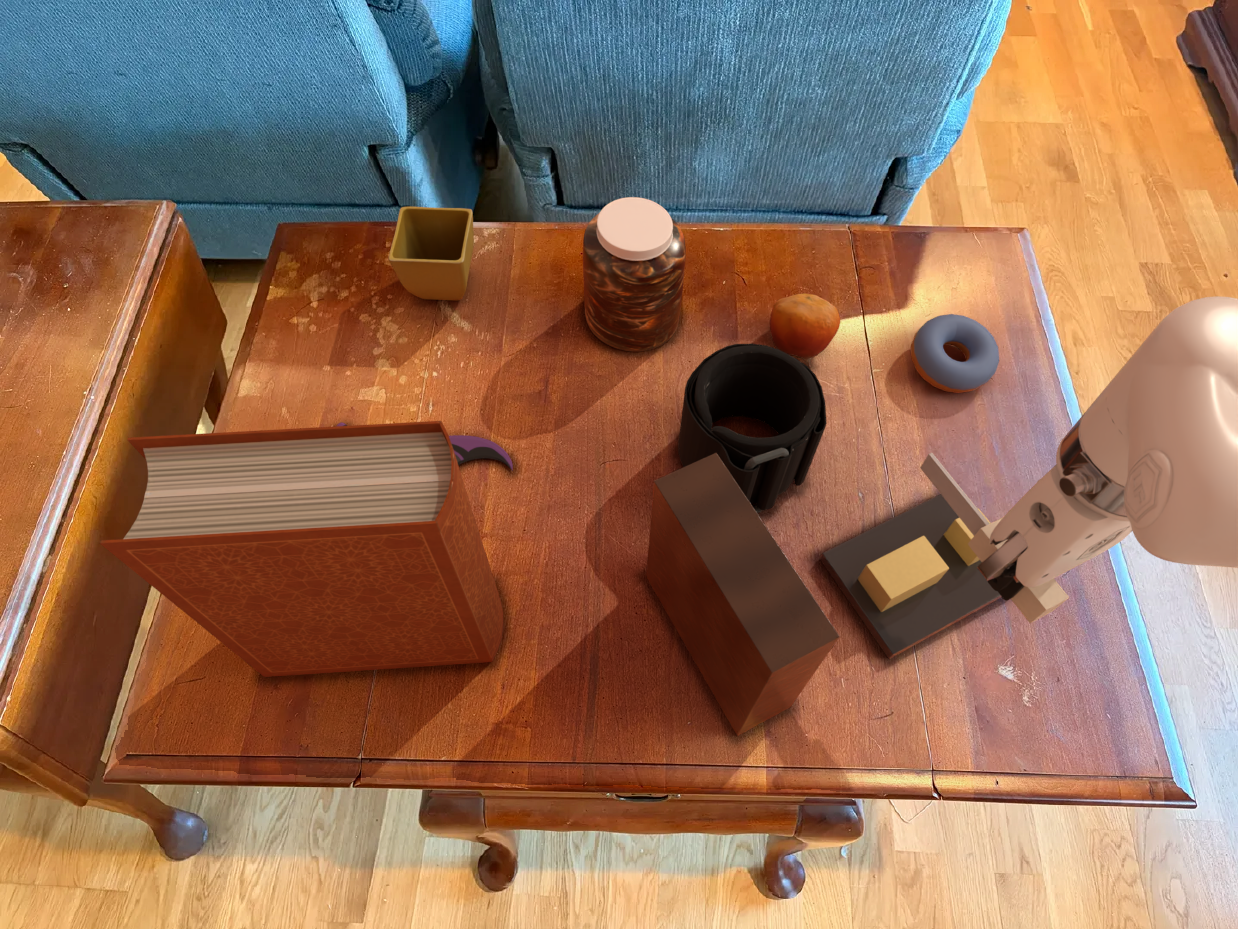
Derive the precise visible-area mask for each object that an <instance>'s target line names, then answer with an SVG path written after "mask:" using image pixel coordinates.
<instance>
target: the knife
mask: <svg viewBox="0 0 1238 929" xmlns="http://www.w3.org/2000/svg"><path fill="white" fill-rule="evenodd" d="M336 426H348V425H347V424H346V423H345V422H339V423H338V424H336ZM449 438H450V441H451V444H452V447H453V450H454V453H455V456H456V460H457V463H458V466H460V465H461V464H464V463H466V462H469V461H473V460H479V459H490V460H496V461H499V462H500V463H503V464H504V465H505V466H507V467H508V469H510V470H511V471H512V472H514V471H513V470H514V465H513V461H512V459H511V456H510V455H509V454H508V452H507V451H506V450H505V448H503V447H501V446H500V445H499V444H497V443H496V442H494V441H492V440H490V439H487V438H483V437H479V436H473V435H465V434H464V435H463V434H462V435H461V434H459V435H457V434H455V435H449Z"/></svg>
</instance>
